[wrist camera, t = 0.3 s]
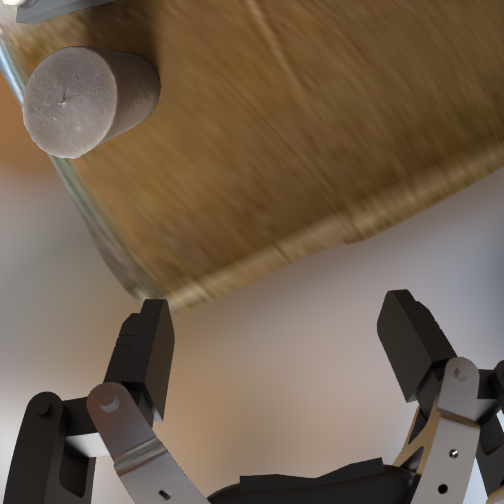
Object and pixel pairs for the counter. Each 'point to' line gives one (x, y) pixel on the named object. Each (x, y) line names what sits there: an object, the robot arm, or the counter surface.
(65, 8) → the console
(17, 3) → the button
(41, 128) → the pillar candle
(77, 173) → the counter surface
